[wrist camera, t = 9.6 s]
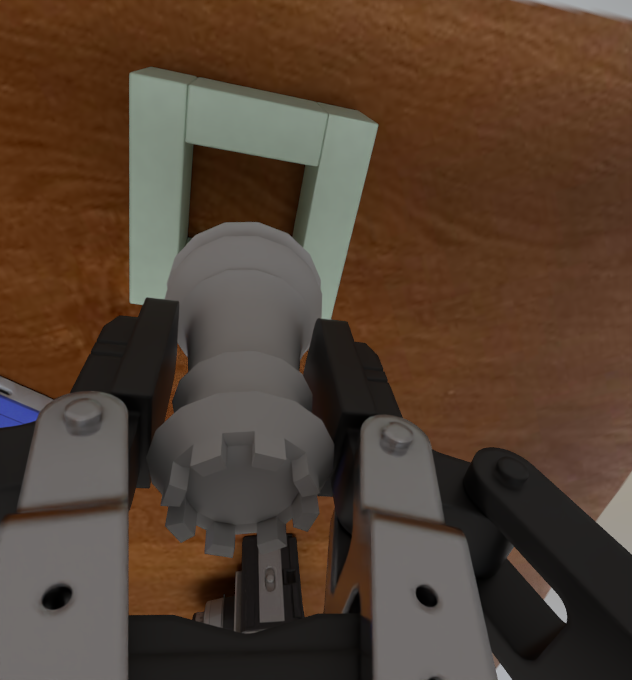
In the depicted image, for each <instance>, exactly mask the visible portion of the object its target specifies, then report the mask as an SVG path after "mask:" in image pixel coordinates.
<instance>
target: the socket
mask: <svg viewBox="0 0 632 680" xmlns="http://www.w3.org/2000/svg"><path fill="white" fill-rule="evenodd" d="M377 129H378V124H377V123H376V122H374V121H373V120H371V119H370V118H368V117H367V116H365V115H364V114H362V113H361V112H359V111H357V110H353V109H348V108H343V107H338V106H334V105H329V104H324V103H320V102H317V103H316V102H315V101H310V100H305V99H301V98H296V97H291V96H286V95H282V94H277V93H272V92H268V91H263V90H258V89H254V88H249V87H244V86H239V85H235V84H230V83H225V82H221V81H216V80H211V79H207V78H202V77H199V78H197V77H196V76H192V75H188V74H183V73H178V72H174V71H169V70H164V69H160V68H155V67H148V68H144V69H141V70H138V71H134V72H131V73H130V74H129V289H130V303H131V304H140V305H143V304H144V301H145V299H146V297H149V298H157V299H165V296H166V292H167V281H168V278H169V275H170V271H171V268H172V265H173V262H174V258H175V257H176V255H177V254H178V253H179V252H180V251H181V250H182V249H183V248H184V247H185V246H186V245H187V244H188V243H189V241H190V240H191V239H192V238H188V223H189V207H190V191H191V175H192V160H193V144H196V145H201V146H206V147H212V148H217V149H223V150H228V151H234V152H239V153H244V154H250V155H255V156H261V157H266V158H271V159H277V160H282V161H288V162H293V163H299V164H304V165H305V170H304V175H303V181H302V186H301V192H300V198H299V203H298V209H297V214H296V220H295V225H294V231H293V236H292V238H293V239H294V240H295V241H296V242H298V243H299V244H300V245H301V246H302V247H303V248H304V249H305V250H306V251H307V252H308V253H309V254H310V255H311V258H312V260H313V262H314V265H315V267H316V270H317V272H318V274H319V277H320V279H321V292H322V319H330V320H331V316H332V312H333V308H334V304H335V300H336V296H337V292H338V288H339V283H340V279H341V275H342V271H343V267H344V263H345V259H346V255H347V251H348V247H349V243H350V239H351V235H352V231H353V227H354V222H355V218H356V214H357V210H358V206H359V202H360V198H361V194H362V190H363V186H364V182H365V178H366V174H367V170H368V166H369V161H370V157H371V153H372V149H373V145H374V141H375V137H376V133H377ZM187 238H188V239H187Z"/></svg>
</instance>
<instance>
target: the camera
mask: <svg viewBox="0 0 632 680" xmlns="http://www.w3.org/2000/svg"><path fill="white" fill-rule="evenodd" d="M286 536H287V546H286V547H283V548H281V549H278V550H275V551H272V552H269V553H266V554H263V555H261V554H260V551H259V549H258V546H257V536H249V537H244V538H243V542H242V571H237V572H236V578H235V595H234V596H230V597H225V594H223V598H220V599H216V600H211V601H208V602H207V603H206V607H205V611H204V612H197V613H194V615H193V619H192V620H194V621H198V622H202V623H206V624H209V625H213V626H217V627H221V628H224V629H228V630H232V631H236V632H240V633H254V632H258V631H261V630H265V629H268V628H272V627H275V626H278V625H282V624H285V623H288V622H292V621H295V620H298V619H302V618H305V617H304V611H303V605H302V595H301V584H300V574H299V563H298V552H297V541H296V537H292V534H286Z"/></svg>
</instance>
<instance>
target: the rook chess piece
mask: <svg viewBox="0 0 632 680" xmlns="http://www.w3.org/2000/svg"><path fill="white" fill-rule="evenodd" d="M165 300H174V301H179V323H178V340H177V343H178V344H179V346H180V347H181V349H182V350H183V352H184V353H185V355H186V356H187V357H188V373H187V374H186V375H185V376H184V377H183V378H182V379H181V380H180V381H179V384H178V387H177V390H176V392H175V395H174V398H173V401H172V404H173V409H174V414H173V415H172V416H171V417H170V418H169V419H168V420H166V421H165V422H164V423H163V424H162V425H161V426H160V427H159V428H158V429H157V430H156V431H155V434H154V437H153V440H152V442H151V445H150V448H149V451H148V454H147V457H146V459H147V463H148V467H149V472H150V476H151V480H152V484H153V485H154V486H155V487H156V488H157V489H158V490H159V492H160V493H161V494H162V495H163V496H162V501H161V506H169V507H168V513H167V518H166V524H165V526H166V528H167V529H168V530H169V531H170V532H171V533H172V534H173V535H174V536H175V537H176V538H177V539H178V540H179V541H180V542H183V541H185V540H187V539H189V538H191V537H193V536H194V535H195V528H196V525H197V526H199V527H201V528H203V529H205V530H207V531H206V543H205V554H210V555H217V556H224V557H230V558H233V553H234V548H235V534H247V533H257V546H258V549H259V551H260V554H261V555H263V554H266V553H269V552H272V551H275V550H278V549H281V548H283V547H286V546H287V536H286V523H287V522H288V521H290V520H291V519H292V518H293V527H295V528H298V529H301V530H304V531H307V532H308V530H309V529H310V527H311V526H312V524H313V523H314V521H315V519H316V518H317V516H318V515H319V507H318V501H317V494H319V493H320V490H321V489H322V487H323V485H324V484H325V482H326V481H327V479H328V477H329V476H330V474H331V472H332V471H333V461H334V443H333V441H332V439H331V437H330V435H329V433H328V431H327V429H326V427H325V426H324V424H323V422H322V420H321V419H319V418H318V417H317V416H315V415H314V414H312V396H313V394H312V392H311V390H310V388H309V386H308V384H307V382H306V380H305V378H304V376H303V374H301V373H300V372H299V367H300V359H301V358H302V356H303V354H304V353H305V352H306V351H307V350H308V349H309V347H310V342H311V338H312V334H313V329H314V325H315V322H316V320H317V319H318V318H322V292H321V279H320V277H319V274H318V272H317V270H316V267H315V265H314V262H313V260H312V258H311V255H310V254H309V253H308V252H307V251H306V250H305V249H304V248H303V247H302V246H301V245H300V244H299V243H298V242H296V241H295V240H294V239H293V238H292V237H291V236H290V235H289V234H288V233H285V232H283V231H280V230H277V229H275V228H272V227H270V226H267V225H264V224H262V223H259V222H225V223H223V224H220V225H218V226H216V227H213V228H211V229H209V230H206V231H204V232H201V233H199V234H197V235H195V236H194V237H193V238H192V239H191V240H190V241H189V243H188V244H187V245H186V246H185V247H184V248H183V249H182V250H181V251H180V252H179V253H178V254H177V255H176V257H175V258H174V262H173V265H172V268H171V271H170V275H169V278H168V281H167V292H166V296H165Z"/></svg>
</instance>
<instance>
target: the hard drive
mask: <svg viewBox="0 0 632 680" xmlns="http://www.w3.org/2000/svg"><path fill="white" fill-rule="evenodd" d="M51 401H53V399H51V398H49V397H46V396H44V395H42V394H39V393H37V392H35V391H33V390H30V389H28V388H26V387H23V386H21V385H19V384H17V383H14V382H12V381H10V380H8V379H5V378H3V377H1V376H0V428H4V427H11V426H17V425H22V424H26V423H30V422H33V421H36V420H37V417H38V414H39V413H40V411H41V410H42V409H43V408H44V407H45V406H46V405H47V404H48V403H50V402H51Z"/></svg>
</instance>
